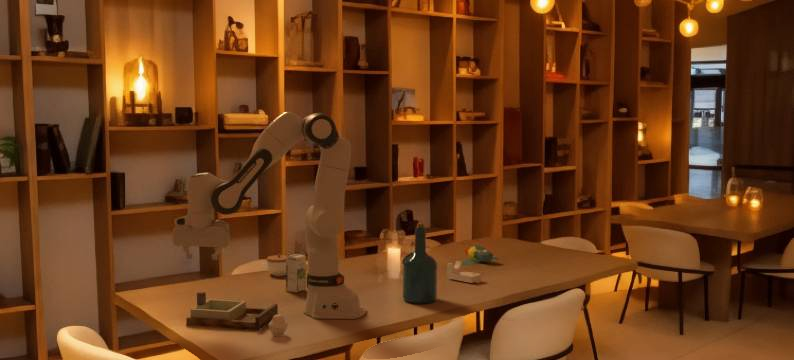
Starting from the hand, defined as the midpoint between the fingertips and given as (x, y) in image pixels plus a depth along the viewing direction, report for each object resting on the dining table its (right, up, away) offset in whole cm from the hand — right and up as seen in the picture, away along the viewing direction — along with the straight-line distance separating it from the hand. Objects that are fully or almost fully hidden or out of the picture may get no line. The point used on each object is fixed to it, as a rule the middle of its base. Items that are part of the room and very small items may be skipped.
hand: (202, 259), depth 252 cm
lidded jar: (+15, -15, +71) cm, 74 cm away
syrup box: (+27, -18, +42) cm, 53 cm away
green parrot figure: (+107, -13, +102) cm, 148 cm away
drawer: (+5, -20, 0) cm, 21 cm away
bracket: (+97, -17, +62) cm, 116 cm away
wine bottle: (+76, -19, +29) cm, 84 cm away
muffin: (+29, -23, -17) cm, 41 cm away
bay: (+11, -21, -1) cm, 24 cm away
